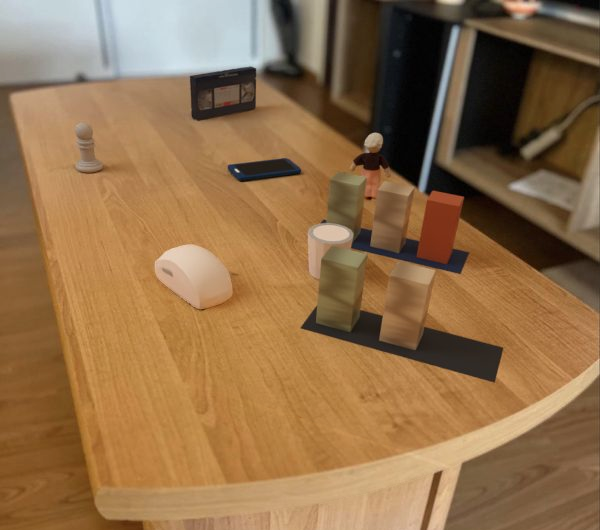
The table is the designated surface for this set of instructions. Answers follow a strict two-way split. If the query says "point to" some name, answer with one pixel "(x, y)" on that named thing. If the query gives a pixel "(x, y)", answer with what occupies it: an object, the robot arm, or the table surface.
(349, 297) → the near blocks
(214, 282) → the computer mouse
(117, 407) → the table surface
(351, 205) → the far blocks
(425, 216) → the orange rectangular block
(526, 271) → the table surface
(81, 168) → the chess piece
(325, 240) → the pale pink cylinder
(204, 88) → the vhs cassette tape
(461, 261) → the word mat far
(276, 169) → the cell phone
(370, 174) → the grandmother figurine
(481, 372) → the mat
